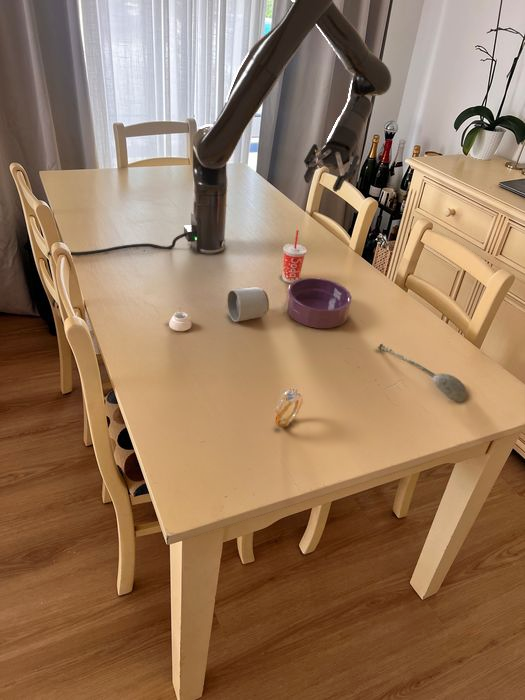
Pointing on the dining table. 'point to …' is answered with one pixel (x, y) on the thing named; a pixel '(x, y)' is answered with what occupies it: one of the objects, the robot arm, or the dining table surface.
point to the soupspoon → (439, 380)
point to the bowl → (318, 302)
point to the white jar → (180, 322)
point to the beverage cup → (293, 261)
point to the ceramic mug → (247, 303)
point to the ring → (289, 396)
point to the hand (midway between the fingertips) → (320, 185)
